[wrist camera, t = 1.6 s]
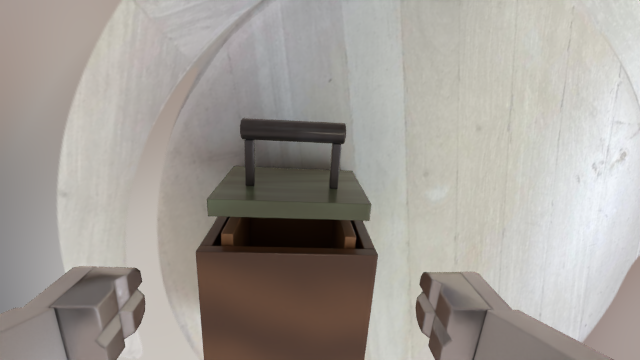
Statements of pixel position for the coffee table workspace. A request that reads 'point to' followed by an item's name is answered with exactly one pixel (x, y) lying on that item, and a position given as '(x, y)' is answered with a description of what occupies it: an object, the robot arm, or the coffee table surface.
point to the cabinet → (285, 299)
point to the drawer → (290, 193)
